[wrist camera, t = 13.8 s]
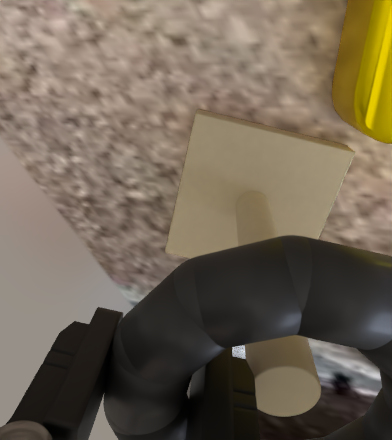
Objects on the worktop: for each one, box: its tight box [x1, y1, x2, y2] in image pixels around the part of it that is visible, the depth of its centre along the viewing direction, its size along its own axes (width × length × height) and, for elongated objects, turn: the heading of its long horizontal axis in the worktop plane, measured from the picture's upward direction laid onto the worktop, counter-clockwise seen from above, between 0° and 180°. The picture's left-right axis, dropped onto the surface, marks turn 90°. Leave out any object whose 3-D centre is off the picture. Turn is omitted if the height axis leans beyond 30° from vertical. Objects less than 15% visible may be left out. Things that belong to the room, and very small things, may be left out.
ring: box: [104, 235, 392, 440], centre depth 10 cm, size 10×10×2 cm
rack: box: [165, 109, 355, 416], centre depth 17 cm, size 9×9×14 cm
